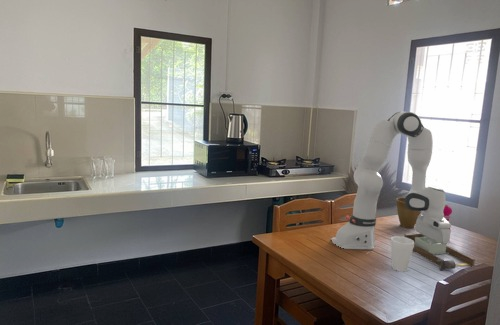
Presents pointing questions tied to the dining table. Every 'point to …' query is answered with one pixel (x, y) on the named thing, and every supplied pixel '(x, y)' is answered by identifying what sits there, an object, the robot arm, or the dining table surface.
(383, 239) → the dining table surface
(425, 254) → the bay
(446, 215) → the pepper mill
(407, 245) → the foam cup
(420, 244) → the crate
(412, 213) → the plant pot
